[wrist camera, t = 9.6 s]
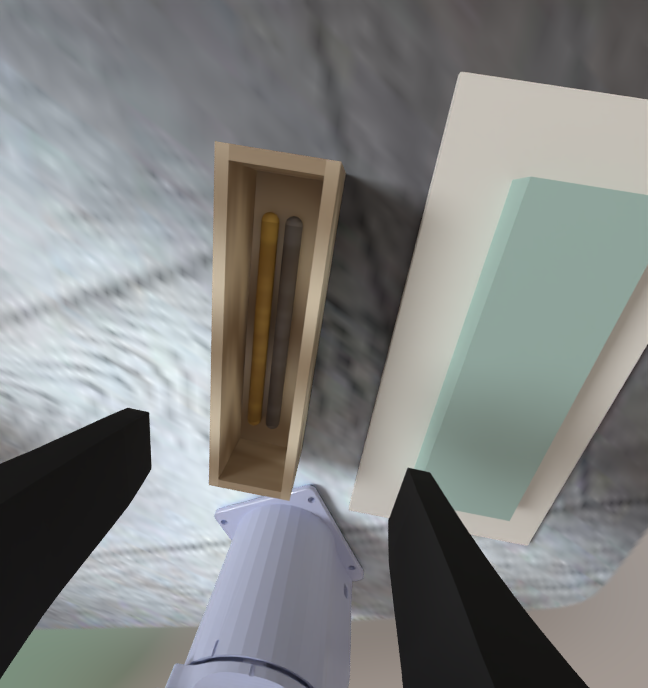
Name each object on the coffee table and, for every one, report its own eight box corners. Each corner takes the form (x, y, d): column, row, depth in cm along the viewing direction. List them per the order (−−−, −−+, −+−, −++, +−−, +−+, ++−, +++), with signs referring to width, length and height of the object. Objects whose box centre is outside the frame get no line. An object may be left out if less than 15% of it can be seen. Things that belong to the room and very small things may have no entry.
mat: (524, 540, 22) (527, 545, 22) (349, 505, 22) (348, 510, 22) (768, 122, 13) (781, 119, 12) (458, 75, 13) (461, 71, 13)
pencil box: (301, 449, 21) (289, 501, 17) (235, 436, 21) (208, 484, 18) (345, 173, 15) (341, 161, 11) (250, 157, 15) (214, 141, 11)
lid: (498, 498, 20) (509, 521, 19) (409, 481, 21) (413, 502, 19) (647, 201, 14) (681, 200, 12) (512, 179, 14) (530, 176, 12)
